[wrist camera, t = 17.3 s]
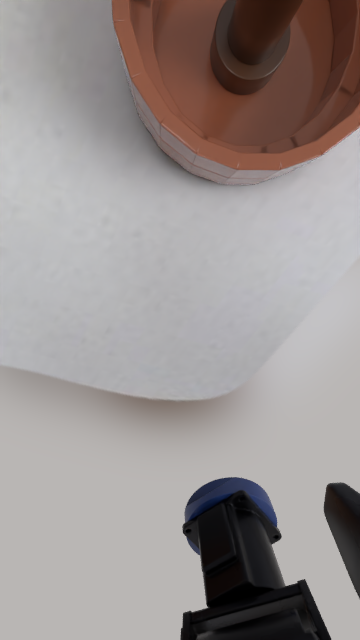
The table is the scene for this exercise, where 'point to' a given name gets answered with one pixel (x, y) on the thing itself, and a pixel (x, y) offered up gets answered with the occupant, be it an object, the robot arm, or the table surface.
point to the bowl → (234, 109)
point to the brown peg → (250, 42)
